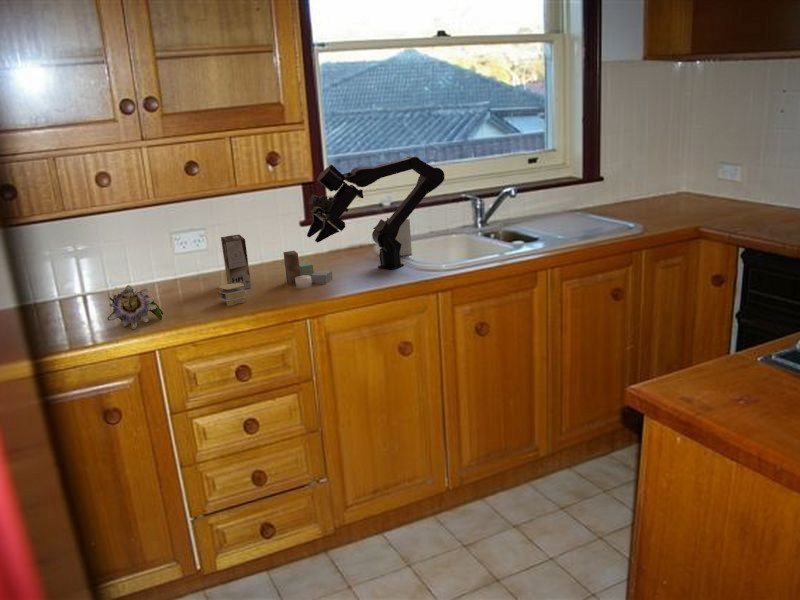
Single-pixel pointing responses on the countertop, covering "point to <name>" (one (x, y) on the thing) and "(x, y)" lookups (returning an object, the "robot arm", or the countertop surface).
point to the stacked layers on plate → (232, 293)
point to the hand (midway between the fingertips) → (312, 239)
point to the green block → (305, 268)
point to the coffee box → (236, 260)
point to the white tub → (303, 281)
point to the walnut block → (291, 266)
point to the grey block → (321, 277)
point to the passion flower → (133, 307)
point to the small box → (404, 238)
